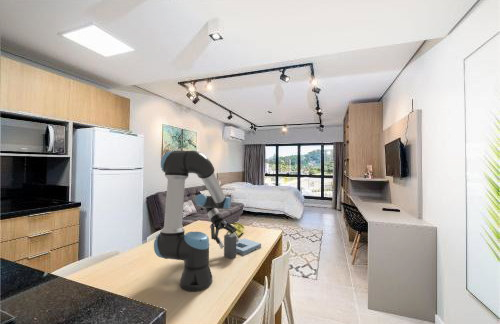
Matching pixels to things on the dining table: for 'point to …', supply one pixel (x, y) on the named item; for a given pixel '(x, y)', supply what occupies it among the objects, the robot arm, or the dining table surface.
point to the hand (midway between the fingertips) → (230, 244)
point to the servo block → (230, 245)
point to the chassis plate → (246, 246)
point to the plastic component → (238, 229)
